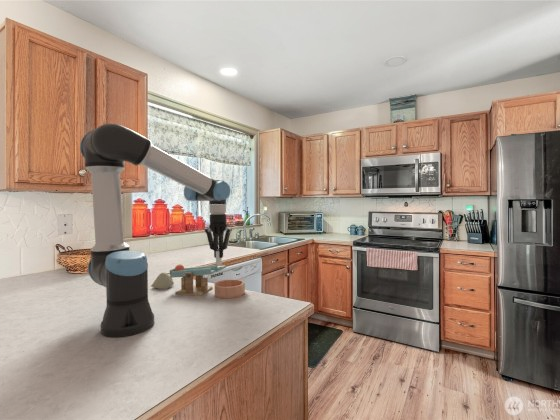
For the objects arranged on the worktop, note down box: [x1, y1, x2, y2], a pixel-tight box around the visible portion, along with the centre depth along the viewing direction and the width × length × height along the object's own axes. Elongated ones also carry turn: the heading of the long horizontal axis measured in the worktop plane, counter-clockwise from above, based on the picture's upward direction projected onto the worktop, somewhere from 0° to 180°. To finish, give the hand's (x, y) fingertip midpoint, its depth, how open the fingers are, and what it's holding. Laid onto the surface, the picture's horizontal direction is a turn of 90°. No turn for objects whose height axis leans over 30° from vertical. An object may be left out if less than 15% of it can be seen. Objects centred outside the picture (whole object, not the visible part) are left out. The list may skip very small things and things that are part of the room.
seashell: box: [150, 271, 175, 290], centre depth 138 cm, size 8×8×8 cm
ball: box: [174, 263, 185, 271], centre depth 132 cm, size 4×4×4 cm
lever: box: [169, 264, 227, 279], centre depth 134 cm, size 14×20×3 cm
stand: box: [175, 272, 214, 297], centre depth 130 cm, size 11×12×9 cm
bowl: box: [213, 278, 246, 299], centre depth 126 cm, size 13×13×4 cm
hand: (218, 264), depth 135 cm, fingers closed
